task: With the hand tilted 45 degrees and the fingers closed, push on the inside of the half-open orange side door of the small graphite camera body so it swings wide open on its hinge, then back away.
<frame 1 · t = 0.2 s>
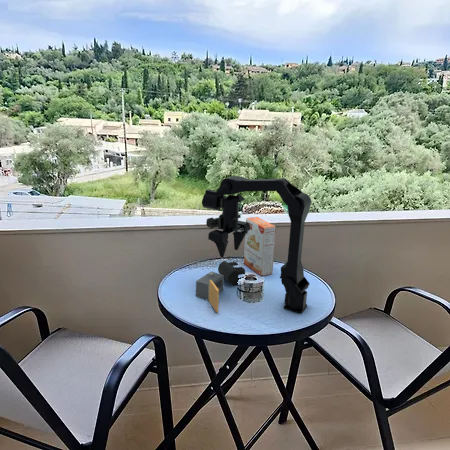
hand: (229, 253, 155), 14 cm above the table, tool pointing down, fingers open, 9 cm apart
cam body: (209, 293, 155), on the table
cracker box: (257, 269, 178), on the table
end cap: (231, 281, 166), on the table
door: (213, 295, 144), point 4 cm above the table, hinge at 130.0°
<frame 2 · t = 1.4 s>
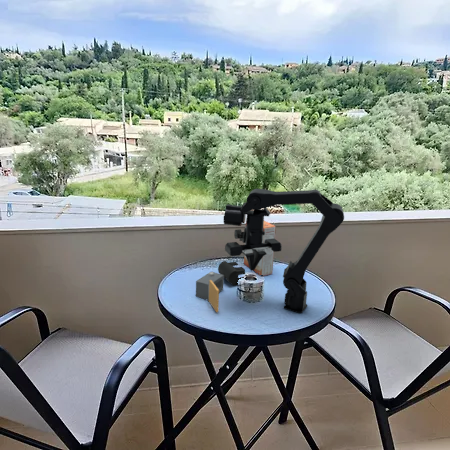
hand: (252, 270, 147), 12 cm above the table, tool pointing down, fingers closed
nothing on the table moved.
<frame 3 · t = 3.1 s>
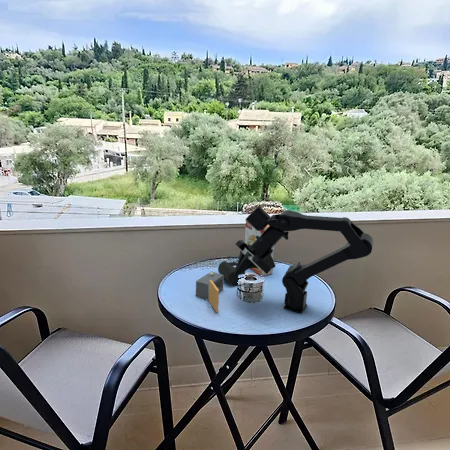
hand: (235, 274, 143), 12 cm above the table, tool tilted 45°, fingers closed
nothing on the table moved.
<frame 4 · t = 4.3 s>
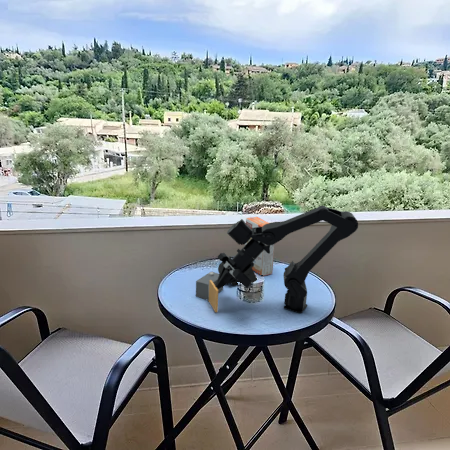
hand: (216, 288, 142), 8 cm above the table, tool tilted 45°, fingers closed, pressing on door
door: (212, 295, 144), point 4 cm above the table, hinge at 131.9°, touching gripper
everything else where it was.
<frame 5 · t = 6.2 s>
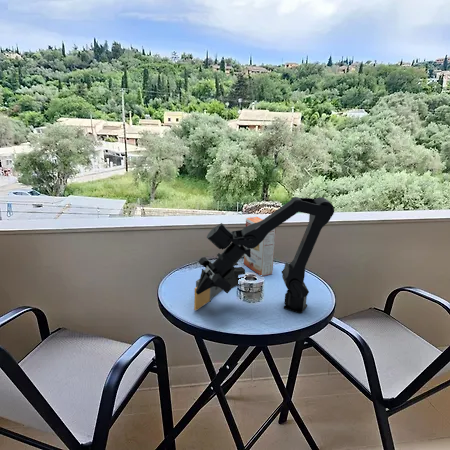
hand: (196, 293, 140), 7 cm above the table, tool tilted 45°, fingers closed
door: (203, 294, 145), point 4 cm above the table, hinge at 181.4°, touching gripper
everything else where it was.
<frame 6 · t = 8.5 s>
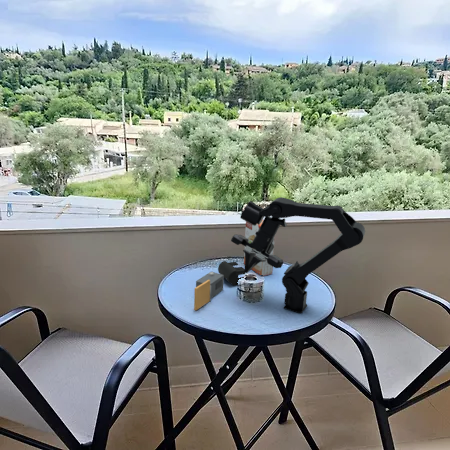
hand: (245, 272, 146), 12 cm above the table, tool tilted 25°, fingers closed
door: (203, 294, 145), point 4 cm above the table, hinge at 181.7°
everything else where it was.
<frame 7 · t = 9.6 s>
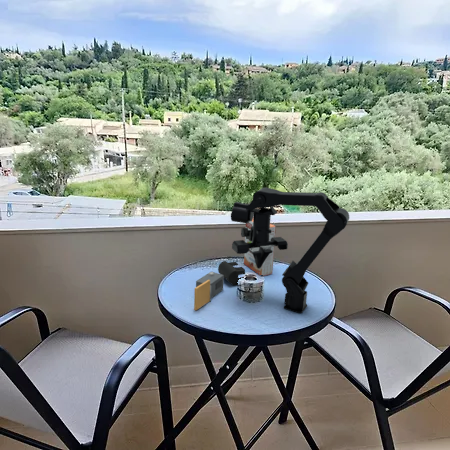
hand: (258, 268, 149), 12 cm above the table, tool pointing down, fingers closed
nothing on the table moved.
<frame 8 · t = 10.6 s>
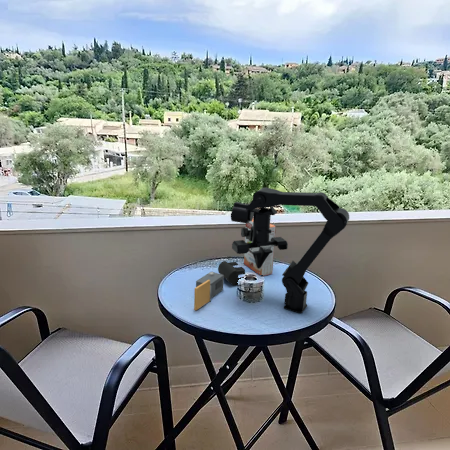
hand: (258, 268, 149), 12 cm above the table, tool pointing down, fingers closed
nothing on the table moved.
at the end: door at +182° (first picture: +130°) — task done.
